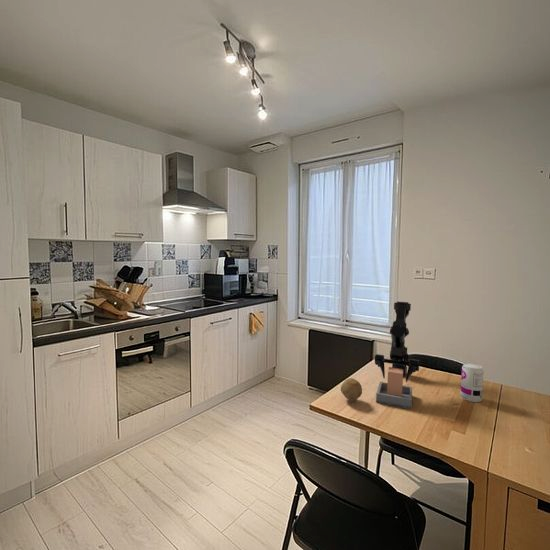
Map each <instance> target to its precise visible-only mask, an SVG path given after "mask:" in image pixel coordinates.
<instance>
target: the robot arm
mask: <svg viewBox="0 0 550 550" xmlns="http://www.w3.org/2000/svg"><path fill="white" fill-rule="evenodd" d="M411 306H412V304H411V303H410V302H409V301H408V302H407V301H396V302H394V303H393V310H394V312H395V320H394V321H393V322H392V326H390V329H389V335H391V338H390V339H391V345H390V350H389V358H387V357H385V355H384V354H378V353H376V354H375V355H374V359H373V360H374V365H376V366H377V367H379V368H380V370H381V373H382V378H383V379H385V376H386V375H385V374H386V371H385V369H386V367H385V363H386V364H391V365H392V368H399V369H403V377H405V376H406V378H405V383H408V381H409V379H410V377H411V375H413V373H416V372H419V371H420V360H419V359H414V358H410V355H409V353H408V347H406V346H405V344H406V343H405V342H406V340H405V338H406V337H407V336H409V335H410V330H409V328H408V327H407V322H406V320H407V318H408V316H409V314H410V311H411V308H412V307H411Z"/></svg>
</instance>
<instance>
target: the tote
mask: <svg viewBox="0 0 550 550" xmlns="http://www.w3.org/2000/svg"><path fill="white" fill-rule="evenodd" d="M375 396H376V397H375V398H376V399H375V403H376V402H377V403H376V404H381V405H386V406H387V405H388V406H393V407H397V408H403V409H408V410H412V405H413V404H412V402H413V401H412V400H413V387H412V386H407V385H403V387H402V397H398V396H393V395H387V382H384V381H379V383H378V386H377V391H376V393H375Z"/></svg>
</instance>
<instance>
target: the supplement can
mask: <svg viewBox="0 0 550 550" xmlns="http://www.w3.org/2000/svg"><path fill="white" fill-rule="evenodd" d="M484 373H485V371H484V369H483V366H481V365H480V364H477V363H471V362H470V363H469V362H465V363H463V365H462V366H461V375H460V376H461V379H460V392H459V393H460V394H459V395H460V397H461V398H462V399H463V400H465V401H468V402H471V403H479V402H481V401H482V400H483V391H484V390H483V388H484V387H483V386H484Z"/></svg>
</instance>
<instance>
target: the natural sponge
mask: <svg viewBox="0 0 550 550" xmlns="http://www.w3.org/2000/svg"><path fill="white" fill-rule="evenodd" d="M340 392H341V393H342V395H343V396H344V397H345V398H346V399H347V400H348V401H349V402H351V403H354V402H356V401H357V400H358V399H359V398H360V397H361V396H362V394H363V387H362V385H361V383H360V382H359V380H357V379H355V378H352V377H349V378H347V379H345V380H344V381H343V382H342V384H341V386H340Z"/></svg>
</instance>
